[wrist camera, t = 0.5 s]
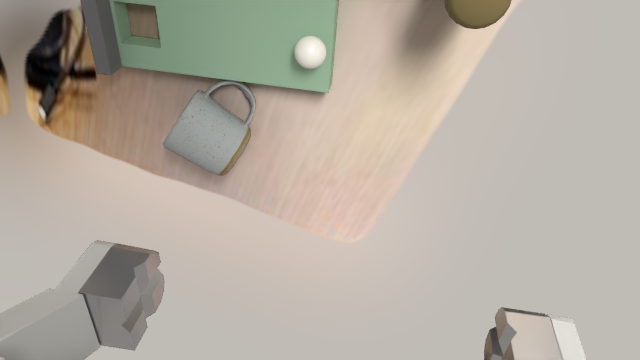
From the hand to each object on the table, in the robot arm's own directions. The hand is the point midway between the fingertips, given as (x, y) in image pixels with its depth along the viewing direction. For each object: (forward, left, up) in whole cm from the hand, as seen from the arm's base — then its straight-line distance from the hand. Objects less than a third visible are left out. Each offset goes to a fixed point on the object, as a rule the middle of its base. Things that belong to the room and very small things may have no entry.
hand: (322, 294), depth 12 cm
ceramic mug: (+21, -18, -43) cm, 51 cm away
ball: (+10, -7, -40) cm, 42 cm away
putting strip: (+10, -18, -43) cm, 47 cm away
